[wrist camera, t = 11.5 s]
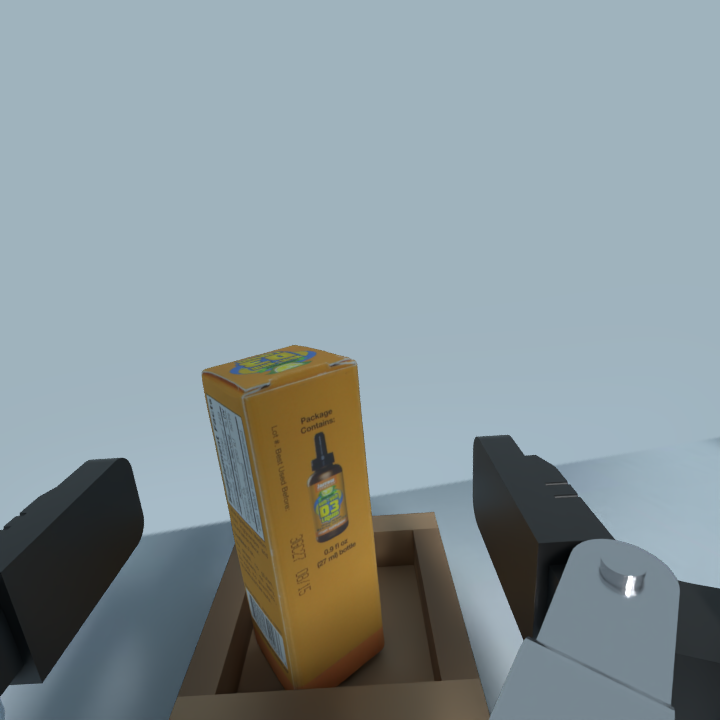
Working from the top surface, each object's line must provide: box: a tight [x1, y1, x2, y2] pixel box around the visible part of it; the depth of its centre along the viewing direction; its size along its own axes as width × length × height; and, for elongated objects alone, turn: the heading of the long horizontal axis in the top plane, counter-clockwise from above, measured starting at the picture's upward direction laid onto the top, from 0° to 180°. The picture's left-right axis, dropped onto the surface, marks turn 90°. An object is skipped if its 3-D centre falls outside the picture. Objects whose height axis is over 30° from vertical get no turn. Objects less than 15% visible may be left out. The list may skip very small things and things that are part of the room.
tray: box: [169, 512, 490, 720], centre depth 15 cm, size 8×8×2 cm
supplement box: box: [202, 345, 384, 690], centre depth 13 cm, size 3×3×10 cm
